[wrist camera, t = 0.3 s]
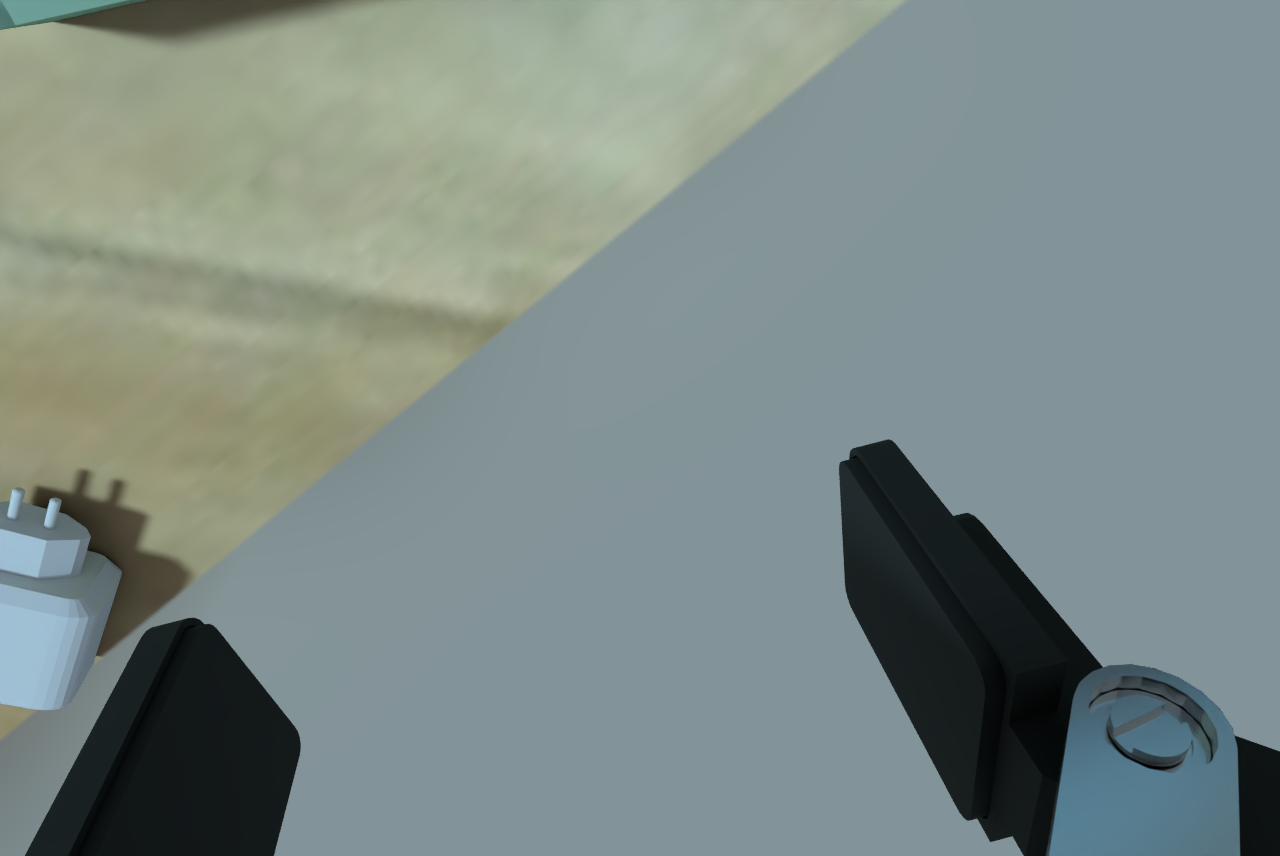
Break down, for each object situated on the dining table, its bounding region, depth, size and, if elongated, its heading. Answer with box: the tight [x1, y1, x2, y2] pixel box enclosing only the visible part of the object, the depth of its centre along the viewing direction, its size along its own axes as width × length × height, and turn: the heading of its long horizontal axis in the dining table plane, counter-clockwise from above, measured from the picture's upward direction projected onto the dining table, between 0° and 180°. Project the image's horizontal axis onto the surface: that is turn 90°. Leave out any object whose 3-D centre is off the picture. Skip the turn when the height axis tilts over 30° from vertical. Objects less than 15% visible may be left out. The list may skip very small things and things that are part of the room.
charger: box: [0, 488, 122, 710], centre depth 42 cm, size 5×9×15 cm
